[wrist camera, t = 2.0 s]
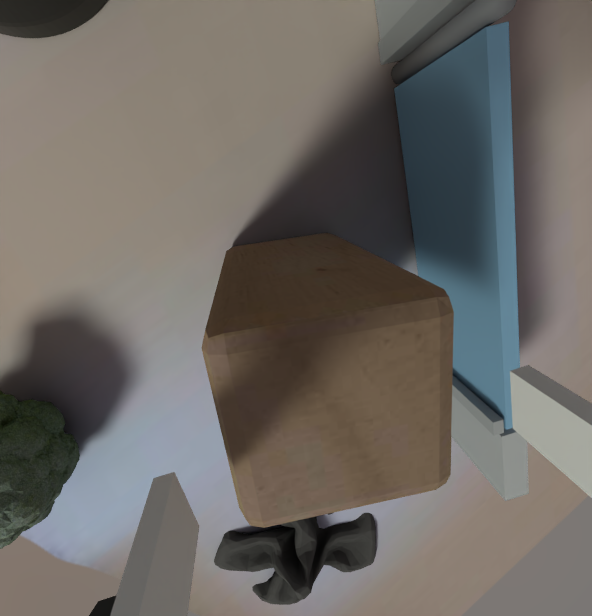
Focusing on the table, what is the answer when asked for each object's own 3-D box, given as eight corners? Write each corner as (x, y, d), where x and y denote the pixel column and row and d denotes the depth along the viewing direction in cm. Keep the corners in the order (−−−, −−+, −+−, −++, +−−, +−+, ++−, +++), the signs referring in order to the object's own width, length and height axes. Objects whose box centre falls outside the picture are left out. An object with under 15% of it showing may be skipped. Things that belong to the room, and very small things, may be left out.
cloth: (401, 537, 46) (424, 586, 40) (290, 615, 48) (297, 674, 42) (294, 434, 39) (303, 477, 33) (168, 531, 41) (155, 588, 35)
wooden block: (335, 229, 32) (466, 287, 13) (344, 332, 35) (459, 494, 16) (222, 246, 31) (192, 333, 12) (243, 349, 34) (243, 543, 16)
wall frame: (360, -44, 26) (464, -251, 14) (396, -52, 26) (532, -264, 14) (425, 414, 40) (507, 513, 28) (449, 407, 40) (540, 502, 28)
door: (390, 65, 28) (488, -18, 17) (429, 56, 28) (554, -34, 17) (428, 359, 37) (510, 434, 26) (458, 351, 37) (552, 421, 26)
